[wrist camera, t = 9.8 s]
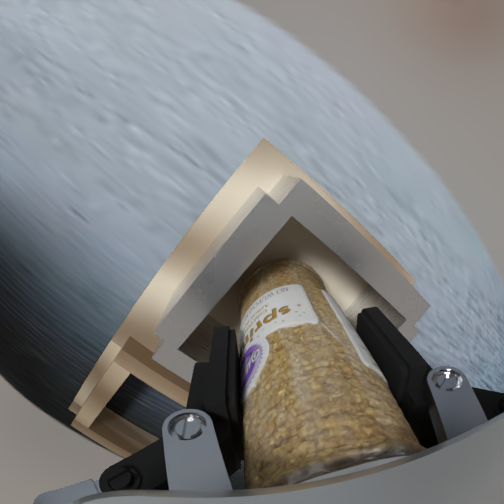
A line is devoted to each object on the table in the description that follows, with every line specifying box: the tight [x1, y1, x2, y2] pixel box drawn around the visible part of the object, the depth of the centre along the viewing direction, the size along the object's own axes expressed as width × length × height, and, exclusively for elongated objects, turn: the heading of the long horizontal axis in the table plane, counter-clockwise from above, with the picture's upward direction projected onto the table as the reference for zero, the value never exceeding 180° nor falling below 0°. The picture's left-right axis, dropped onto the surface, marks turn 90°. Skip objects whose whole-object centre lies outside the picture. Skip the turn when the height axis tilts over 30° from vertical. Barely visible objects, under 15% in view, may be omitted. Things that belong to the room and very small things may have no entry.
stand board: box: [69, 138, 416, 458], centre depth 17 cm, size 24×12×3 cm, turn 141°
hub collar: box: [152, 175, 430, 383], centre depth 14 cm, size 9×9×4 cm
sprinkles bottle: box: [238, 258, 427, 489], centre depth 9 cm, size 5×5×13 cm
